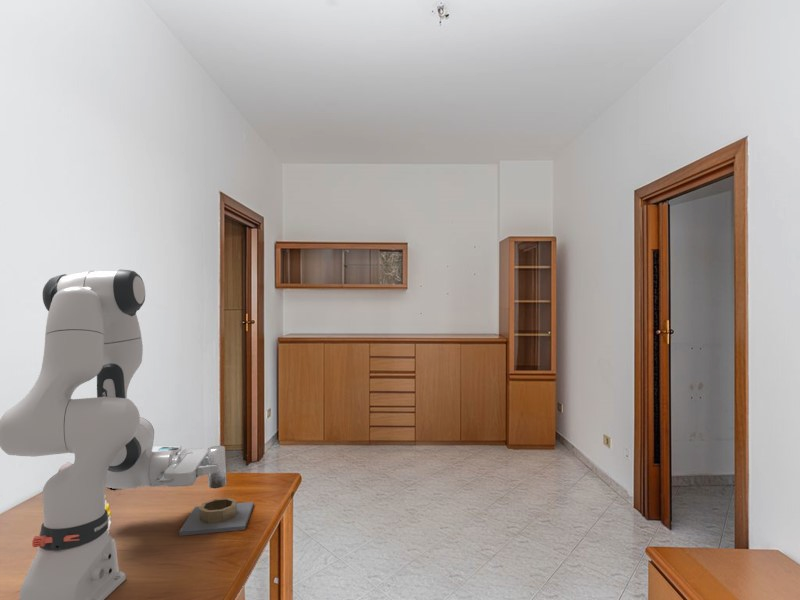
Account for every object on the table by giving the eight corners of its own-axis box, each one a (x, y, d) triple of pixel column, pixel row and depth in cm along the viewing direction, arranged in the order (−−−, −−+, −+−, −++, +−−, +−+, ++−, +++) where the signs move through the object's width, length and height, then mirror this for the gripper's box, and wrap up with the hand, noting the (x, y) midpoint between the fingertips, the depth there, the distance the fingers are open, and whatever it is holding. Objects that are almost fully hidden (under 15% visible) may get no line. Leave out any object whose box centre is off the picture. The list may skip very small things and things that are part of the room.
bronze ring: (232, 521, 138) (232, 509, 138) (197, 524, 137) (196, 512, 137) (238, 507, 147) (238, 497, 147) (205, 510, 146) (204, 499, 146)
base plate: (244, 529, 135) (244, 525, 135) (179, 535, 133) (179, 531, 133) (253, 505, 151) (253, 501, 151) (195, 510, 149) (195, 506, 149)
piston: (224, 487, 140) (223, 450, 140) (207, 488, 140) (205, 451, 140) (227, 481, 145) (226, 445, 145) (210, 482, 144) (209, 446, 144)
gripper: (152, 469, 130) (211, 465, 132) (176, 445, 150) (226, 442, 152) (153, 495, 130) (212, 490, 132) (177, 467, 151) (227, 464, 152)
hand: (220, 464), depth 142 cm, fingers closed on piston, 4 cm apart
